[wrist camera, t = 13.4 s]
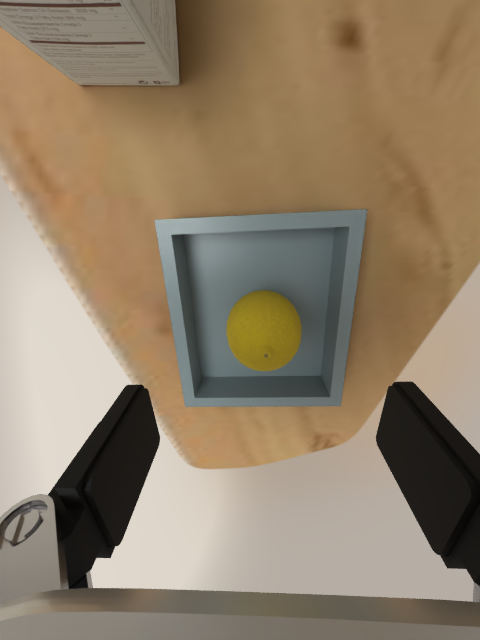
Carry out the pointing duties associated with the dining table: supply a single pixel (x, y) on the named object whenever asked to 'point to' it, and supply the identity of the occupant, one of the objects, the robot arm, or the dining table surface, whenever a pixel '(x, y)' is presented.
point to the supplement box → (100, 38)
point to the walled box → (252, 275)
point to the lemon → (264, 330)
